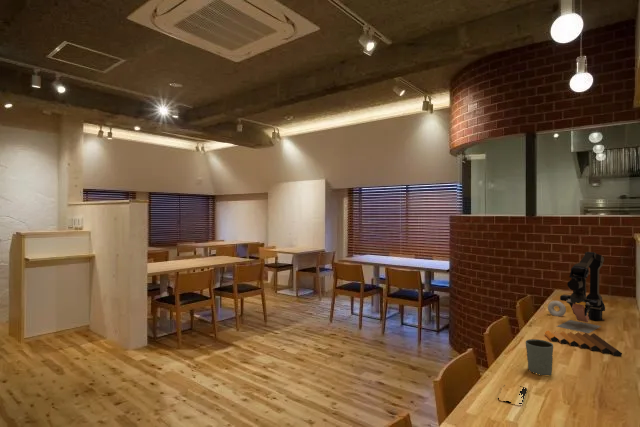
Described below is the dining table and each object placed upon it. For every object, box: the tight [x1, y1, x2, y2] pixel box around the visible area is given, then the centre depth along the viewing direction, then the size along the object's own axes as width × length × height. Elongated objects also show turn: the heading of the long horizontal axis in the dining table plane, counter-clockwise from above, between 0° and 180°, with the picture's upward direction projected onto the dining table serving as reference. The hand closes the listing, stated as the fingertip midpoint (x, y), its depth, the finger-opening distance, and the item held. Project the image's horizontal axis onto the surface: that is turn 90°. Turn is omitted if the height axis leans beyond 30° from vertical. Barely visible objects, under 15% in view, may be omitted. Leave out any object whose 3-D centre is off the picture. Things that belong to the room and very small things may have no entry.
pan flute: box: [544, 330, 623, 357], centre depth 192 cm, size 25×3×25 cm
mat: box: [556, 319, 602, 334], centre depth 221 cm, size 20×16×1 cm
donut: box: [547, 300, 567, 317], centre depth 243 cm, size 10×4×10 cm, turn 45°
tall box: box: [571, 303, 590, 323], centre depth 221 cm, size 3×5×12 cm
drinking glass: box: [525, 338, 554, 376], centre depth 162 cm, size 10×10×12 cm
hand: (579, 315), depth 220 cm, fingers closed on tall box, 5 cm apart
